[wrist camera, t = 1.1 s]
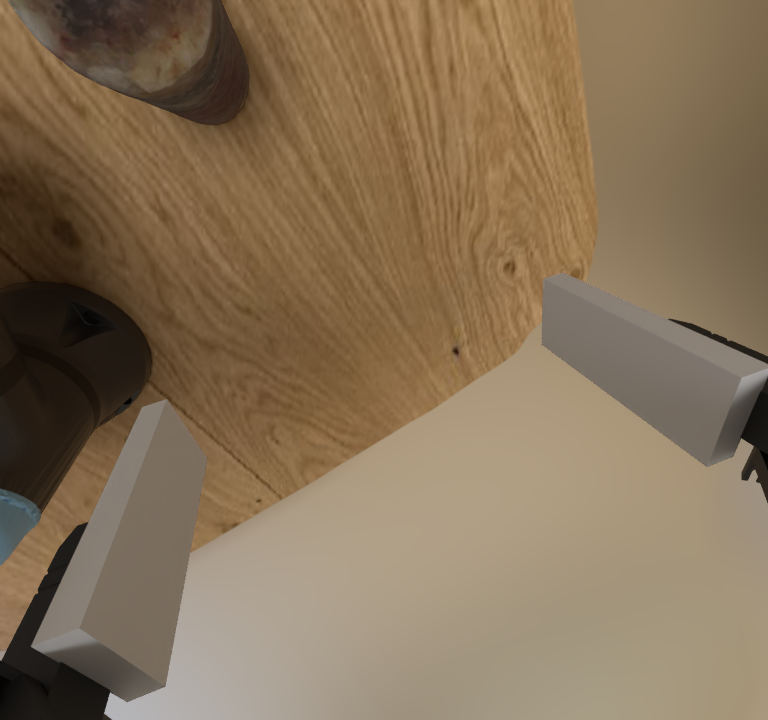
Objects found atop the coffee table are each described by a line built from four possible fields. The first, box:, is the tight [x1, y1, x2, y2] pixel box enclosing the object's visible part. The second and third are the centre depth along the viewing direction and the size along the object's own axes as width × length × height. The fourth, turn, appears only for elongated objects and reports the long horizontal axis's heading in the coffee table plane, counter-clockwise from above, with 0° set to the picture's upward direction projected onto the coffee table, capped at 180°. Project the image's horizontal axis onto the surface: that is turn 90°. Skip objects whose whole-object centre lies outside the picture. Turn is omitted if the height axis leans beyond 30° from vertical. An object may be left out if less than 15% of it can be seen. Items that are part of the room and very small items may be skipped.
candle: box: [8, 0, 249, 125], centre depth 22 cm, size 8×7×20 cm
